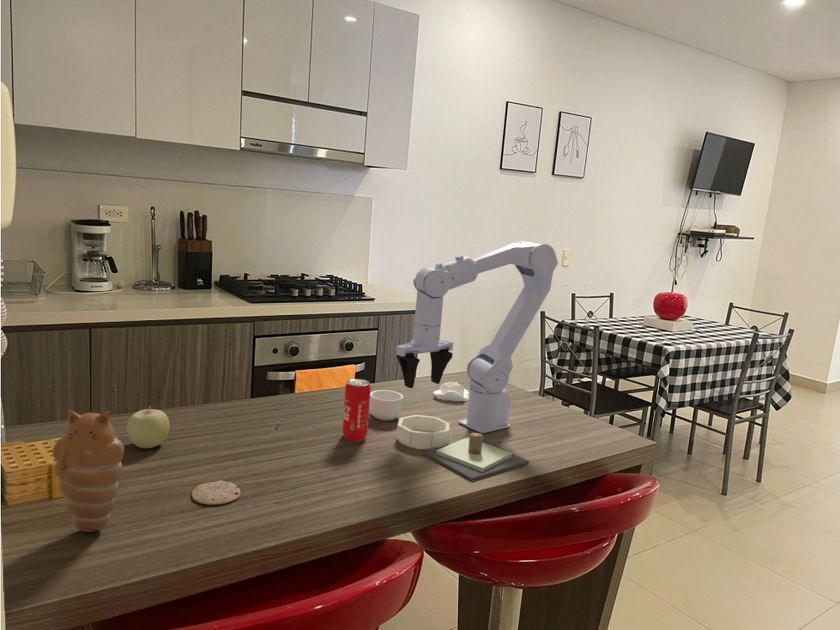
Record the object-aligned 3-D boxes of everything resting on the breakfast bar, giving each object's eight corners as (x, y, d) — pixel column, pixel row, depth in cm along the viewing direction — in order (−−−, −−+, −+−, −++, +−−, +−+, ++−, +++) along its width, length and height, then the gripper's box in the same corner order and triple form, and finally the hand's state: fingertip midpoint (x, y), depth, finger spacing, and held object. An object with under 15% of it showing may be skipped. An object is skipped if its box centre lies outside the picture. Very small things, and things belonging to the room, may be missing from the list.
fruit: (176, 447, 120) (177, 407, 119) (137, 456, 115) (137, 414, 113) (158, 435, 125) (158, 396, 124) (120, 443, 120) (120, 403, 118)
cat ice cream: (46, 546, 85) (43, 419, 82) (68, 517, 93) (66, 399, 89) (116, 545, 87) (116, 420, 83) (132, 516, 94) (132, 401, 91)
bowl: (425, 427, 142) (426, 412, 141) (458, 443, 134) (459, 428, 133) (387, 435, 135) (388, 420, 134) (419, 453, 127) (420, 437, 126)
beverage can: (362, 443, 130) (366, 387, 127) (338, 439, 131) (342, 383, 128) (369, 434, 135) (373, 380, 132) (346, 431, 136) (350, 377, 133)
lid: (467, 440, 134) (469, 421, 134) (512, 456, 128) (514, 436, 127) (436, 454, 126) (437, 433, 125) (482, 472, 119) (484, 450, 118)
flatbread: (240, 505, 101) (240, 500, 100) (190, 508, 98) (190, 502, 98) (239, 483, 108) (240, 477, 108) (193, 485, 106) (193, 480, 106)
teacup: (408, 418, 147) (410, 396, 146) (385, 426, 141) (387, 402, 140) (378, 407, 153) (379, 385, 152) (354, 413, 147) (356, 391, 146)
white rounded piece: (449, 389, 158) (425, 378, 166) (448, 406, 159) (424, 395, 166) (478, 384, 164) (454, 374, 172) (477, 401, 165) (452, 390, 173)
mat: (478, 440, 137) (479, 437, 137) (528, 463, 126) (528, 460, 126) (422, 454, 127) (423, 451, 127) (471, 481, 116) (472, 478, 116)
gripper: (440, 318, 143) (435, 376, 146) (389, 322, 134) (384, 383, 136) (461, 324, 138) (455, 384, 141) (410, 329, 129) (405, 392, 131)
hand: (422, 384), depth 138 cm, fingers open, 7 cm apart
